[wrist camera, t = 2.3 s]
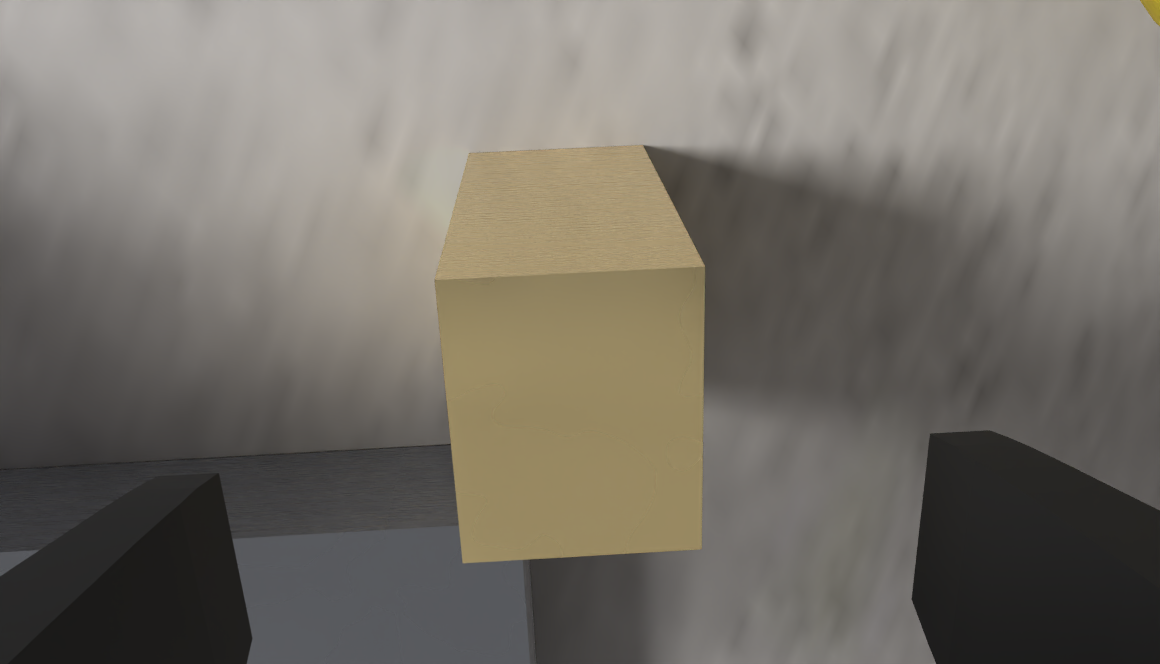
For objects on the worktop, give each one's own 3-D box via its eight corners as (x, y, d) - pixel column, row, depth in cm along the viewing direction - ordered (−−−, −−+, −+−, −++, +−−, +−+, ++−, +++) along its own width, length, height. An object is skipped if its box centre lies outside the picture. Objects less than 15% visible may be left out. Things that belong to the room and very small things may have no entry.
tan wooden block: (485, 352, 20) (462, 563, 13) (468, 153, 18) (435, 280, 12) (645, 344, 20) (701, 549, 13) (642, 145, 18) (705, 266, 12)
